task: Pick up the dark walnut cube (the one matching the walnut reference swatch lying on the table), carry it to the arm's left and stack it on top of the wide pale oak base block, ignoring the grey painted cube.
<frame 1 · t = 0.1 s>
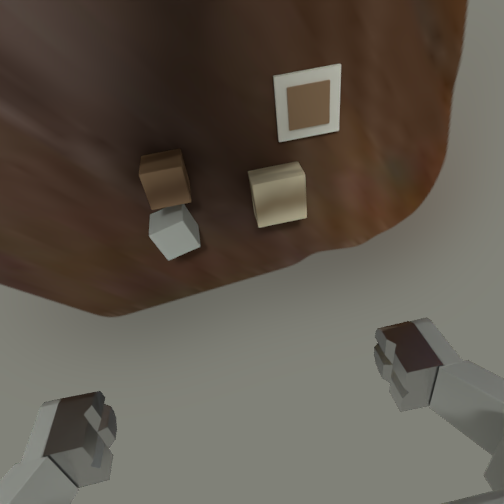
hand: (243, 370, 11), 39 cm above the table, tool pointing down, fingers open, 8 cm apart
oak base block: (274, 187, 53), on the table
walnut cube: (166, 169, 48), on the table
grey cube: (174, 219, 53), on the table
reference swatch: (307, 104, 46), on the table
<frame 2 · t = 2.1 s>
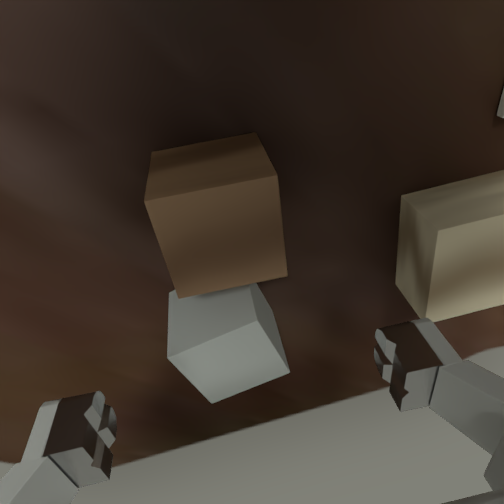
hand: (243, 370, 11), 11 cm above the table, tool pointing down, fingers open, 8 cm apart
oak base block: (449, 228, 23), on the table
walnut cube: (214, 188, 19), on the table
grey cube: (223, 301, 24), on the table
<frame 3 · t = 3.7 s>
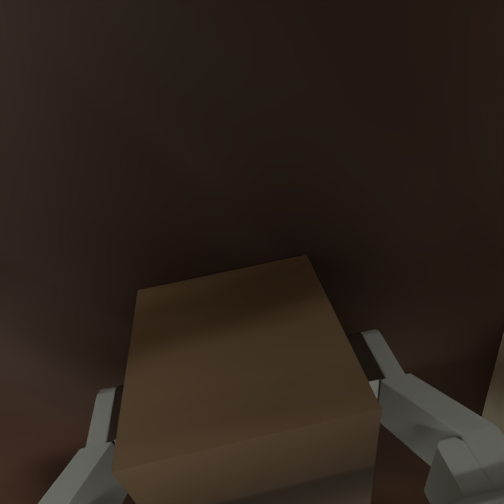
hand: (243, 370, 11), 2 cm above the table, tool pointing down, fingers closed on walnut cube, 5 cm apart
walnut cube: (237, 330, 12), on the table, touching gripper
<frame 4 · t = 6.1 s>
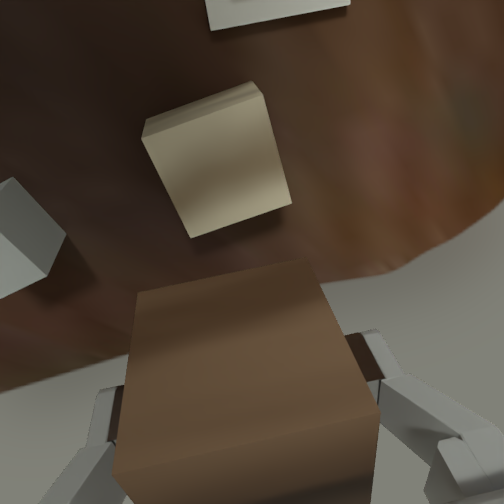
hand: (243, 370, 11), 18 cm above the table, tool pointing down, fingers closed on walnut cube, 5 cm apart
oak base block: (217, 150, 25), on the table
walnut cube: (236, 332, 12), point 16 cm above the table, touching gripper
grey cube: (11, 221, 26), on the table
when the fingers open (7 cm above the table, at t = 8.2 s): walnut cube drops 2 cm, point 4 cm above the table.
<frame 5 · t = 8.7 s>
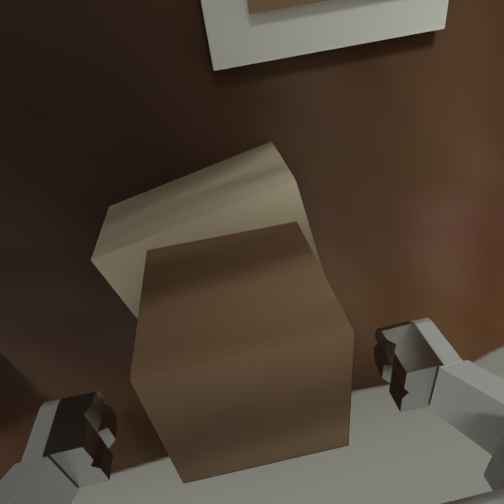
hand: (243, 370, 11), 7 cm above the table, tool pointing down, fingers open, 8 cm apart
oak base block: (221, 238, 17), on the table
walnut cube: (234, 292, 14), point 4 cm above the table
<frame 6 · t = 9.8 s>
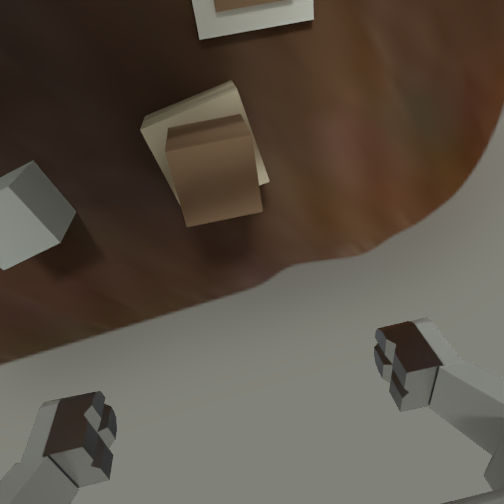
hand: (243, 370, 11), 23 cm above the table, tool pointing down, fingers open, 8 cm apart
oak base block: (206, 140, 30), on the table, touching walnut cube
walnut cube: (211, 156, 26), point 4 cm above the table, touching oak base block
grey cube: (30, 200, 30), on the table
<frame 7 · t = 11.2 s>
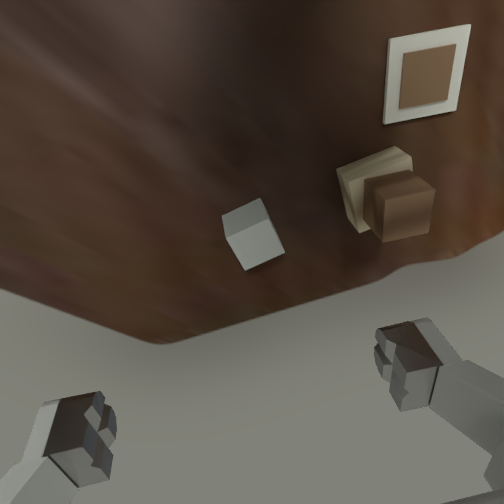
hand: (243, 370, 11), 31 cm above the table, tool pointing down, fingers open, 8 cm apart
oak base block: (368, 182, 44), on the table, touching walnut cube
walnut cube: (385, 195, 41), point 4 cm above the table, touching oak base block
grey cube: (249, 222, 44), on the table
reference swatch: (422, 76, 38), on the table
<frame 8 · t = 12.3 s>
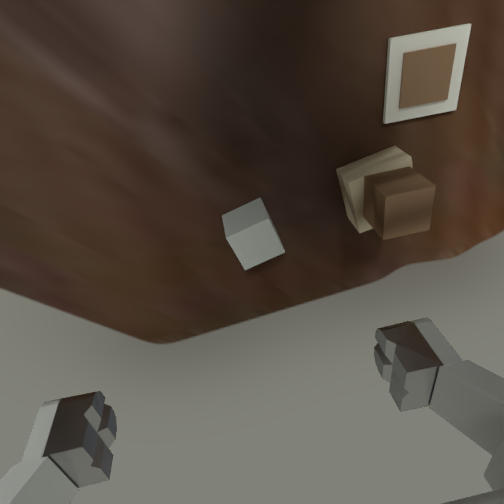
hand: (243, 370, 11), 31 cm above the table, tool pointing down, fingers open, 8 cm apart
oak base block: (369, 182, 44), on the table, touching walnut cube
walnut cube: (385, 192, 41), point 4 cm above the table, touching oak base block
grey cube: (249, 222, 44), on the table
reference swatch: (422, 75, 38), on the table
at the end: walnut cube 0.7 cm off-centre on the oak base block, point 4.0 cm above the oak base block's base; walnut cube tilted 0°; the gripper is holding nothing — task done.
